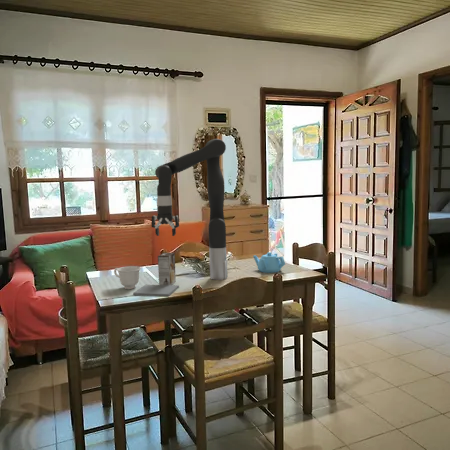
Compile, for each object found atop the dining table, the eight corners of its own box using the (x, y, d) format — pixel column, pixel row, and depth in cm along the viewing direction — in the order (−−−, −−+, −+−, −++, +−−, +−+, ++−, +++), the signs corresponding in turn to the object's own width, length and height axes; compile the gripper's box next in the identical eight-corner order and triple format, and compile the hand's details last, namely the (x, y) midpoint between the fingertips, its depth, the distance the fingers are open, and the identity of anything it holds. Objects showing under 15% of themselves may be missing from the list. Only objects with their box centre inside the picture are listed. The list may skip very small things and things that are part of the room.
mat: (179, 287, 218) (178, 285, 218) (169, 296, 203) (168, 294, 203) (145, 286, 222) (145, 284, 222) (133, 295, 206) (133, 293, 206)
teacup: (122, 283, 229) (121, 265, 228) (146, 285, 224) (145, 266, 223) (108, 289, 218) (107, 270, 217) (133, 291, 213) (132, 271, 211)
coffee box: (164, 281, 231) (163, 252, 229) (176, 282, 229) (174, 252, 227) (158, 286, 222) (157, 255, 220) (170, 286, 220) (169, 256, 218)
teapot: (260, 274, 242) (260, 255, 241) (252, 269, 257) (252, 251, 256) (286, 272, 246) (286, 254, 245) (276, 267, 260) (276, 249, 259)
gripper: (179, 203, 223) (181, 234, 225) (154, 204, 226) (155, 234, 227) (175, 205, 215) (176, 236, 217) (148, 205, 218) (150, 236, 220)
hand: (165, 235), depth 222 cm, fingers open, 8 cm apart
